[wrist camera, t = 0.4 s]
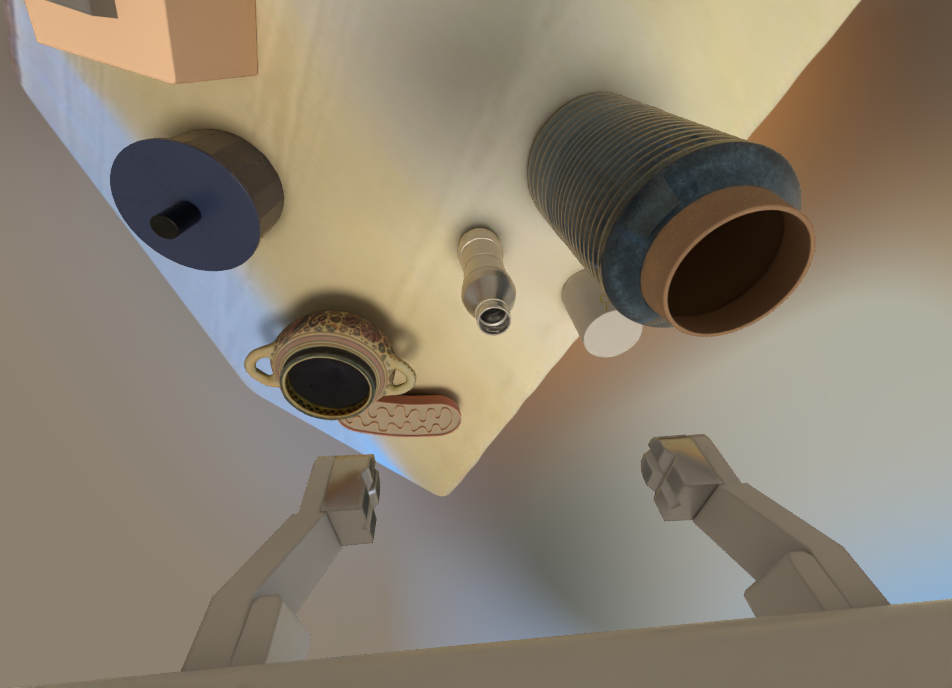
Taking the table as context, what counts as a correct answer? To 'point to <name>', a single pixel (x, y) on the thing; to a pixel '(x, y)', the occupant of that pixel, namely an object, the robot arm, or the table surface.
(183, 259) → the lid
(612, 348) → the light grey upright cylinder
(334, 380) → the patterned ceramic jar
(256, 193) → the pot
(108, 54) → the soap dispenser
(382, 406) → the mitochondrion model
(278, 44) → the table surface
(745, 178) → the vase
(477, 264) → the metal water bottle
